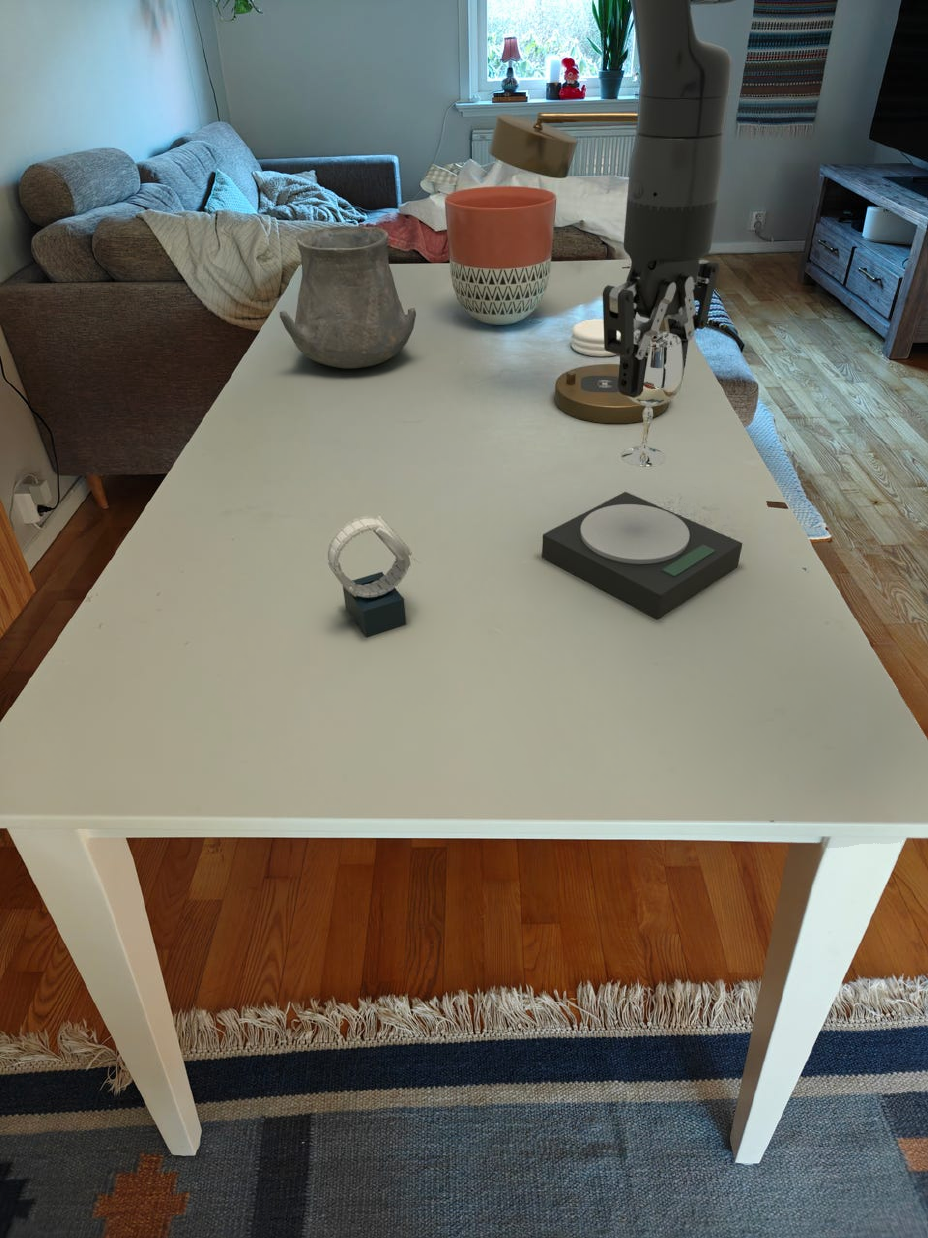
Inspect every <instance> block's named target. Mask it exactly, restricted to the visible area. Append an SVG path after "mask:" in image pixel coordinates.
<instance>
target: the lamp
mask: <svg viewBox="0 0 928 1238" xmlns="http://www.w3.org/2000/svg"><path fill="white" fill-rule="evenodd" d="M637 114H638V112H629V111H628V112H627V111H626V112H625V111H624V112H623V111H621V112H620V111H619V112H616V111H615V112H613V111H612V112H610V111H609V112H604V111H603V112H563V111H559V112H558V111H557V112H553V111H552V112H548V111H547V112H537V120H534V119H529V118H526V117H522V116H518V115H515V114H507V113H499V114H497V116H496V119H495V124H494V127H493V130H492V131H493V132H492V135H491V138H490V139H491V140H490V143H489V147H488V153H489V155H491V156H492V157H493V158H495V159H497V160H498V161H500V162H502V163H505V164H507V165H509V166H511V167H513V168H517V169H519V170H523V171H526V172H528V173H532V174H536V175H539V176H543V177H548V178H549V177H550V178H555V179H565V178H567V177H568V175H569V171H570V168H571V165H572V161H573V159H574V156H575V152H576V150H577V149H576V148H577V146H578V143H579V142H578V141H579V140H578V139H577V138H576V137H574V136H573V135H571V134H569V133H568V132H565V131H563V130H561V129H559V128H557V127H553V126H552V125H548V124H564V123H637ZM659 331H661V332H666V328H665V323H664V319H663V320H662V322H661V325H660V328H659ZM619 365H620V363H600V364H590V365H584V366H583V365H582V366H579V367H575V368H573V369H569V370H567V371H565V372H564V373H562V374H560V375H559V376H558V377H557V379H556V380H555V385H554V402H555V405H556V406H557V407H558V408H559V409H560V410H561V411H562V412H564V413H565V414H566V415H568V416H571V417H573V418H577V419H580V420H582V421H587V422H593V423H597V424H598V423H599V424H613V425H614V424H615V425H616V424H617V425H619V424H621V425H622V424H634V423H639V422H644V421H643V415H642V414H643V411H644V409H645V408H646V406H643V405H640V404H637V403H635V402H633V401H632V400H630V399H629V398H628V397H627V396H626V395H623V394H621V393H620V391H619V388H618V379H619V378H618V377H619ZM669 403H670V401H669V402H667V403H665V404H662V405H658V406H652V407H651V408H652V410H653V417H652V419H654V418H656V417H658V416H660V415H662V414H663V413H664V412H665V411H666V410H667V409H668V407H669Z"/></svg>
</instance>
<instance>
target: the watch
mask: <svg viewBox="0 0 928 1238" xmlns="http://www.w3.org/2000/svg"><path fill="white" fill-rule="evenodd" d="M369 531H373V533H374V534H375V535H376V536H377V537H378V538H379V540H380V541H381V542H382V543H383V544H384V546H385V547H386V548H387V549H388V550H389V551H390V553H392V555H393V556H394V557H395V560H394V562H393V563H392V565H391V568H389V570H388V571H387V572H386V573H385V574H384V572H383V571H379V572H376V573H373V574H369V575H366V576H363V577H359V578H356V579H353V580H351V579H350V578H349V577H348V576H347V575H346V574H345V572H344V571H343V569H342V567H341V563H340V561H339V560H340V557H341V554H342V551H343V550H344V549H345V547H346V546H347V545H348V544H349V543H351V541H353V539H355V538H356V537H358V536H360V535H361V534H364V533H367V532H369ZM412 555H413V553H412V551H411V549H410V548H409V547H408V545H407V544H406V543H405V541H403V539H402V538H401V537H400V535H398V533H397V532H396V531H395V530H394V528H393V527H391V526H390V524H389V523H388V522H387V521H386V520H385V519H384V518H383V517H382V516H380V515H377V516H376V517H374V516H372V515H368V514H367V515H364V516H360V517H355V518H354V519H352V520H349V521H347V522H346V523H344V524H343V525H342V526H341V527H340V528H338V530H337V531H336V533H335V534H334V535H333V536H332V539H331V540H330V542H329V545H328V550H327V560H328V562H327V565H328V566H329V569H330V570H331V572H332V573H333V575H334V576H335V577H336V579H337V580H338V581H339V583H340V584H341V586H342V591H343V600H344V606H345V610H346V612H348V614H349V615H350V617H351V618H352V619H353V621H354V622H355V624H356V625H357V626H358V628H359V630H360V631H361V632H362V633H363V635H364V637H365V638H368V637H371V636H374V635H377V634H380V633H383V632H386V631H389V630H392V629H396V628H399V627H402V626H405V625H407V619H406V617H407V616H406V609H405V608H406V607H405V606H406V605H405V598H404V597H403V596H402V594H401V593H400V591H398V589H397V588H396V587H397V586H399V584H400V583H402V580H403V579H404V578H405V576H406V575H407V573H408V571H409V568H410V566H411V565H412V564H411V559H410V557H411V556H412Z"/></svg>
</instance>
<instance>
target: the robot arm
mask: <svg viewBox="0 0 928 1238" xmlns="http://www.w3.org/2000/svg"><path fill="white" fill-rule="evenodd" d="M735 1H736V0H630V5H631V11H632V18H633V27H634V32H635V40H636V42H635V43H636V49H637V57H638V64H639V75H640V76H639V78H640V79H639V81H640V82H639V90H638V104H637V105H638V106H637V113H638V114H637V122H636V127H635V131H636V133H635V136H634V143H633V148H632V152H631V157H630V163H629V172H628V173H629V174H628V183H627V184H628V185H627V195H626V196H627V197H626V209H625V220H624V221H625V222H624V234H623V243H622V244H623V245H622V246H623V250H624V252H625V253H626V254H627V255H628V256H629V259H630V262H631V263H630V269H629V271H628V274H627V277H626V281H625V282H624V283H622V284H620V285H619V286H614V285H611V284H608V285H606V286H605V287H604V288H603V290H602V316H603V317H602V319H603V322H604V349H605V351H608V352H611V353H614V354H617V355H616V356H619V377H618V378H619V379H618V388H619V391H620V393H621V394H623V395H626V396H629V397H632V398H635V397H638V396H640V395H641V393H642V386H643V376H644V367H645V358H643V357H644V356H645V353H646V351H647V348H648V345H649V342H650V339H651V337H652V336H653V335H655V334H657V333H658V331H659V328H660V325H661V322H662V320H663V319H664V323H665V328H666V332H668V333H672V334H675V335H677V336H679V337H680V338H681V341H682V349H683V362H684V369H685V368H686V364H687V355H688V349H689V341H691V340H692V339H693V338H694V336H695V332H696V330H703V329H704V328H705V327H706V326H707V321H708V318H709V313H710V309H711V304H712V301H713V296H714V292H715V289H716V288H715V287H716V284H717V279H718V273H719V271H720V270H719V269H720V264H719V263H718V262H715V261H711V260H706V259H701V258H704V257H706V256H707V255H708V254H709V253H710V251H711V249H712V244H713V236H714V230H715V229H714V228H715V222H716V215H717V208H718V207H717V206H718V199H719V194H720V193H719V192H720V186H721V179H722V172H723V162H724V161H723V159H724V137H725V136H724V135H725V134H724V133H725V132H724V131H725V126H726V120H727V113H728V105H729V98H730V92H731V91H730V90H731V85H732V84H731V83H732V74H733V73H732V72H733V59H732V56H731V54H730V53H729V51H728V50H727V49H726V48H725V47H722V46H720V45H717V44H714V43H710V42H707V41H703V40H700V39H699V37H698V36H697V33H696V30H695V25H694V21H693V15H692V6H701V5H723V4H727V3H732V2H735ZM695 301H697V302H698V309H697V308H696V302H695ZM637 315H639V317H641V318H645V319H648V320H647V321H641V320H637V318H636V317H637ZM617 331H619V332H620V334H621V336H620V339H619V340H618V339H617ZM636 331H639V333H640V335H639V338H638V341H637V344H634V335H635V332H636ZM684 373H685V371H684V372H683V376H684Z"/></svg>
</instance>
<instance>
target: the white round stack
mask: <svg viewBox="0 0 928 1238" xmlns="http://www.w3.org/2000/svg"><path fill="white" fill-rule="evenodd" d="M571 333H572V334H571V342H570V344H571V348H572V349H573V350H574V351H576V352H577V353H579V354H582V355H585V356H590V357H612V356H618V355H617V354H614V353H611V352H608V351H605V349H604V322H603V318H595V319H594V318H593V319H587V320H582V321H579V322H577V323H575V324H574V325H573V326H572V329H571ZM620 336H621V334H620V332H619V331H617V339H618V340H619V339H620Z"/></svg>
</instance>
